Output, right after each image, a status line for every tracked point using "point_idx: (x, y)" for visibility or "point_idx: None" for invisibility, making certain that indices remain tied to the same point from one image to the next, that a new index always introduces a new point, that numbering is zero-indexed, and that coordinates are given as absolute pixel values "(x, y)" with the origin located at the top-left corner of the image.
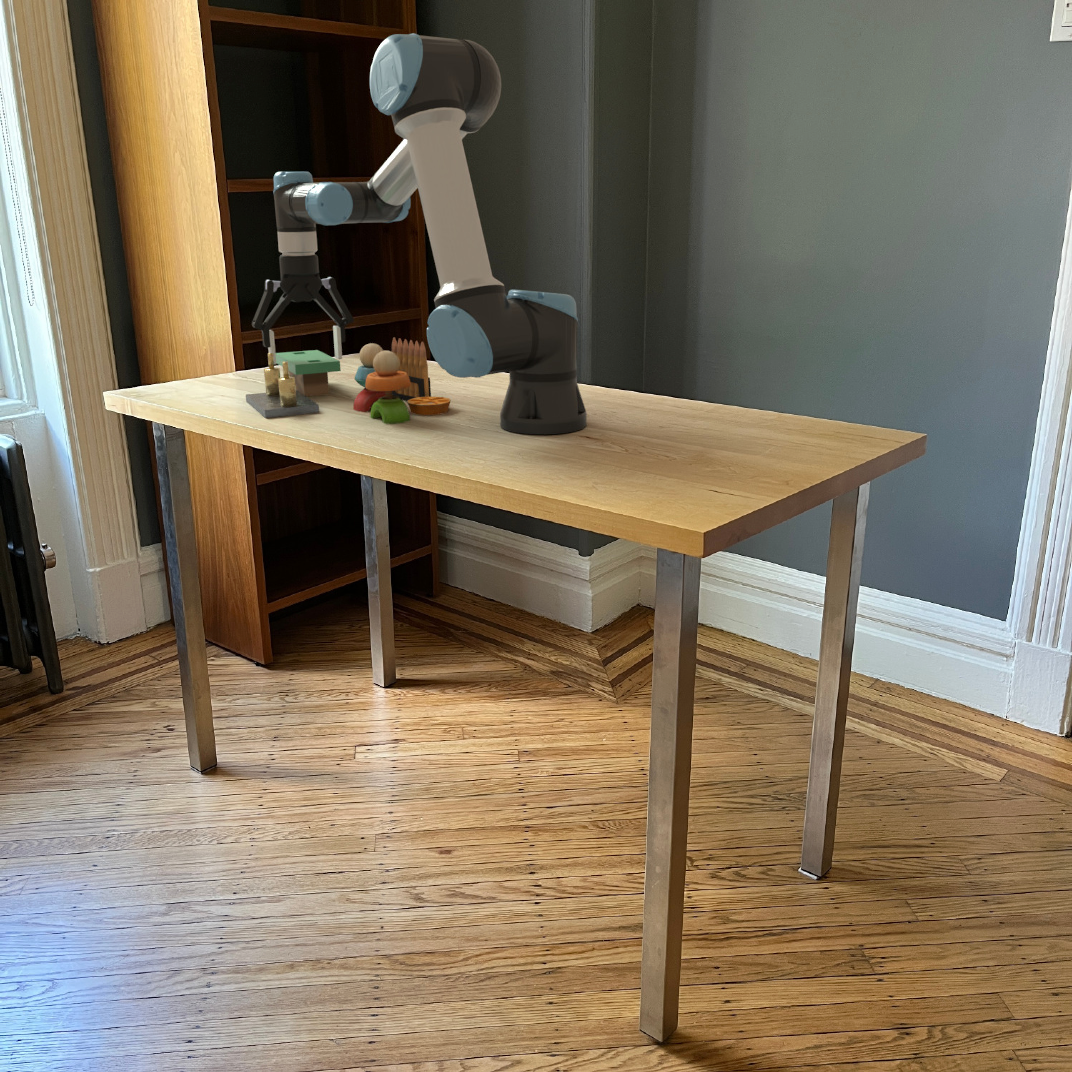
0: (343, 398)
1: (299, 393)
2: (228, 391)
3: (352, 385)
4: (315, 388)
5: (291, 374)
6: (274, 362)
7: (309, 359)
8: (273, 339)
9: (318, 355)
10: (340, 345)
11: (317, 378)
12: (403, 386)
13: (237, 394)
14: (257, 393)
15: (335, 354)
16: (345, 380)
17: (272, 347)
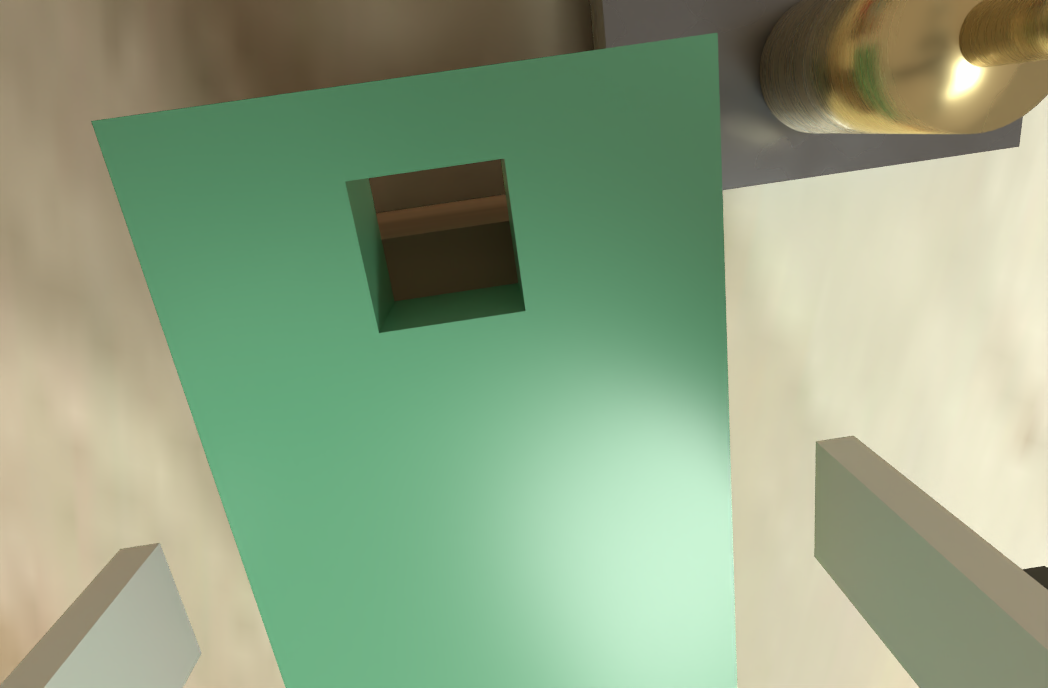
0: (249, 8)
1: (619, 16)
2: None
3: (177, 516)
4: (460, 207)
5: None
6: (843, 448)
7: (484, 396)
8: (1037, 629)
9: (363, 624)
10: (28, 662)
11: (431, 221)
12: None
13: (939, 446)
14: (927, 158)
15: (178, 661)
16: (227, 684)
17: (970, 541)
